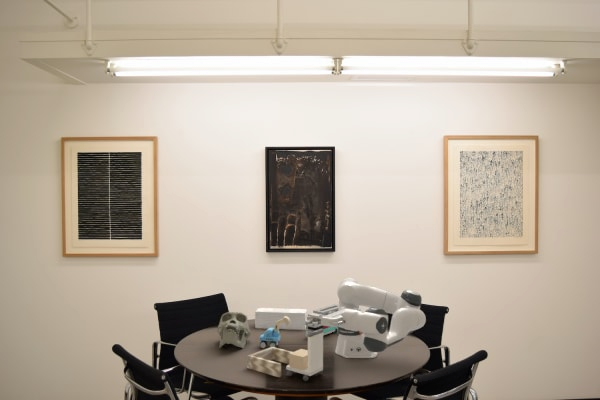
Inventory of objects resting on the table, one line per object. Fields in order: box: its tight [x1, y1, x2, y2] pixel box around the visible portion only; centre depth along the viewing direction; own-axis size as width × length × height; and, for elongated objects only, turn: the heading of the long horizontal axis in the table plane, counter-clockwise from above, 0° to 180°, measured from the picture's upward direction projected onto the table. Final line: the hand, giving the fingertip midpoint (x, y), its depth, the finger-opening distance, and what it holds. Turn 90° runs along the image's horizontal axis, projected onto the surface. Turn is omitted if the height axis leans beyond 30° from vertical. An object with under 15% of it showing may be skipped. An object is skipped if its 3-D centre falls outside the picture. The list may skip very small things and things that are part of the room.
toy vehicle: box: [304, 303, 339, 338], centre depth 293 cm, size 8×30×15 cm, turn 141°
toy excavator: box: [259, 316, 290, 349], centre depth 267 cm, size 9×17×17 cm, turn 78°
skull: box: [217, 311, 252, 349], centre depth 271 cm, size 18×21×28 cm
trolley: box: [285, 329, 324, 382], centre depth 225 cm, size 14×12×22 cm
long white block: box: [254, 307, 308, 331], centre depth 309 cm, size 32×11×11 cm, turn 83°
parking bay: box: [246, 347, 293, 378], centre depth 236 cm, size 20×18×6 cm
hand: (324, 314), depth 218 cm, fingers open, 5 cm apart
